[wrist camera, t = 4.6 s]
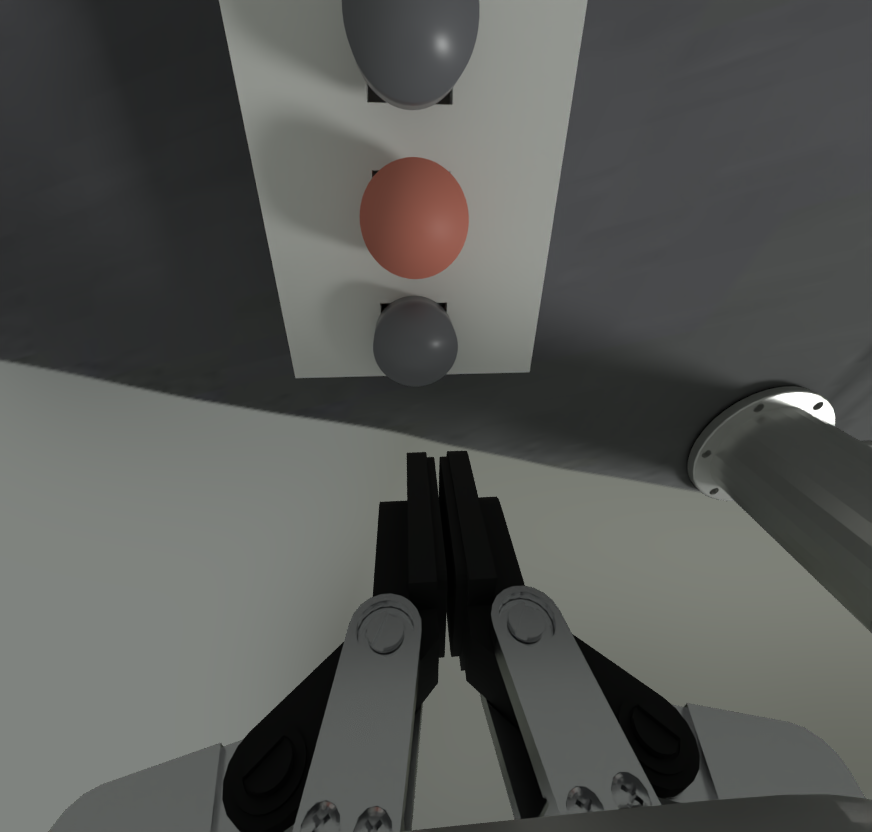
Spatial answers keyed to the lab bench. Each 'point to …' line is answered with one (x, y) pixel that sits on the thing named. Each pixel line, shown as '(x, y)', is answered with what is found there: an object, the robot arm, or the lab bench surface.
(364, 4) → the grey knob
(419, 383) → the grey knob
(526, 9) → the control box
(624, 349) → the lab bench surface
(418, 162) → the red knob
